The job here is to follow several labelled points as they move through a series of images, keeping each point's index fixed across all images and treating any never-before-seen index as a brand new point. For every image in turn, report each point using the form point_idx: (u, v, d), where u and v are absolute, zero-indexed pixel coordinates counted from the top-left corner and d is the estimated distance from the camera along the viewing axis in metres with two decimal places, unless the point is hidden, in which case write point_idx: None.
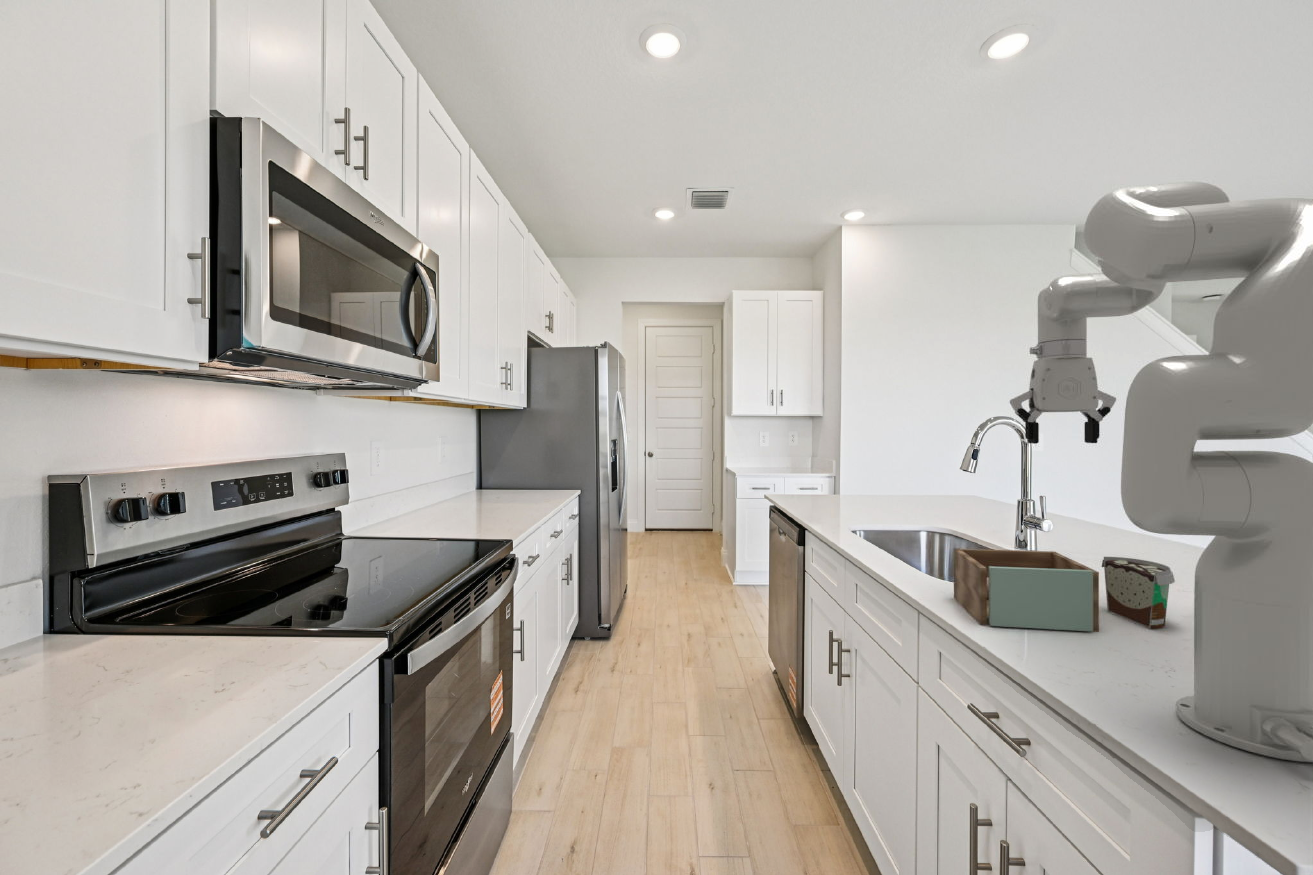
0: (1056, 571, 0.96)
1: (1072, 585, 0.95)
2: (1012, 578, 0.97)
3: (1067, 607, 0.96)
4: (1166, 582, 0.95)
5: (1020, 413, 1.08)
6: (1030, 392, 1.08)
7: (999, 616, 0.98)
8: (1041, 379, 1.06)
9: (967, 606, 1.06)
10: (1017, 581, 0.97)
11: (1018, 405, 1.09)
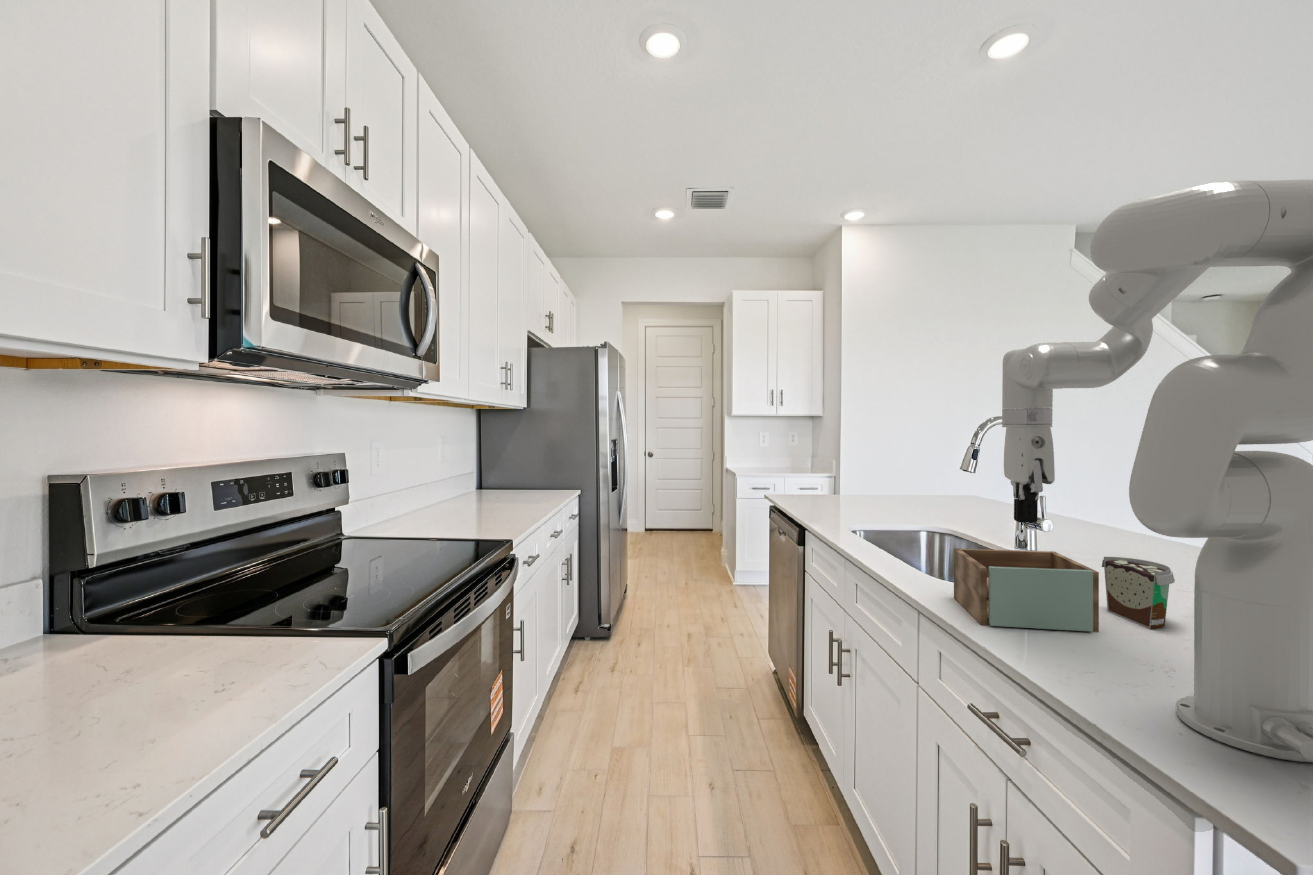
0: (1056, 571, 0.96)
1: (1072, 585, 0.95)
2: (1012, 578, 0.97)
3: (1067, 607, 0.96)
4: (1166, 582, 0.95)
5: (1038, 492, 0.99)
6: None
7: (999, 616, 0.98)
8: (1053, 449, 0.97)
9: (967, 606, 1.06)
10: (1017, 581, 0.97)
11: None
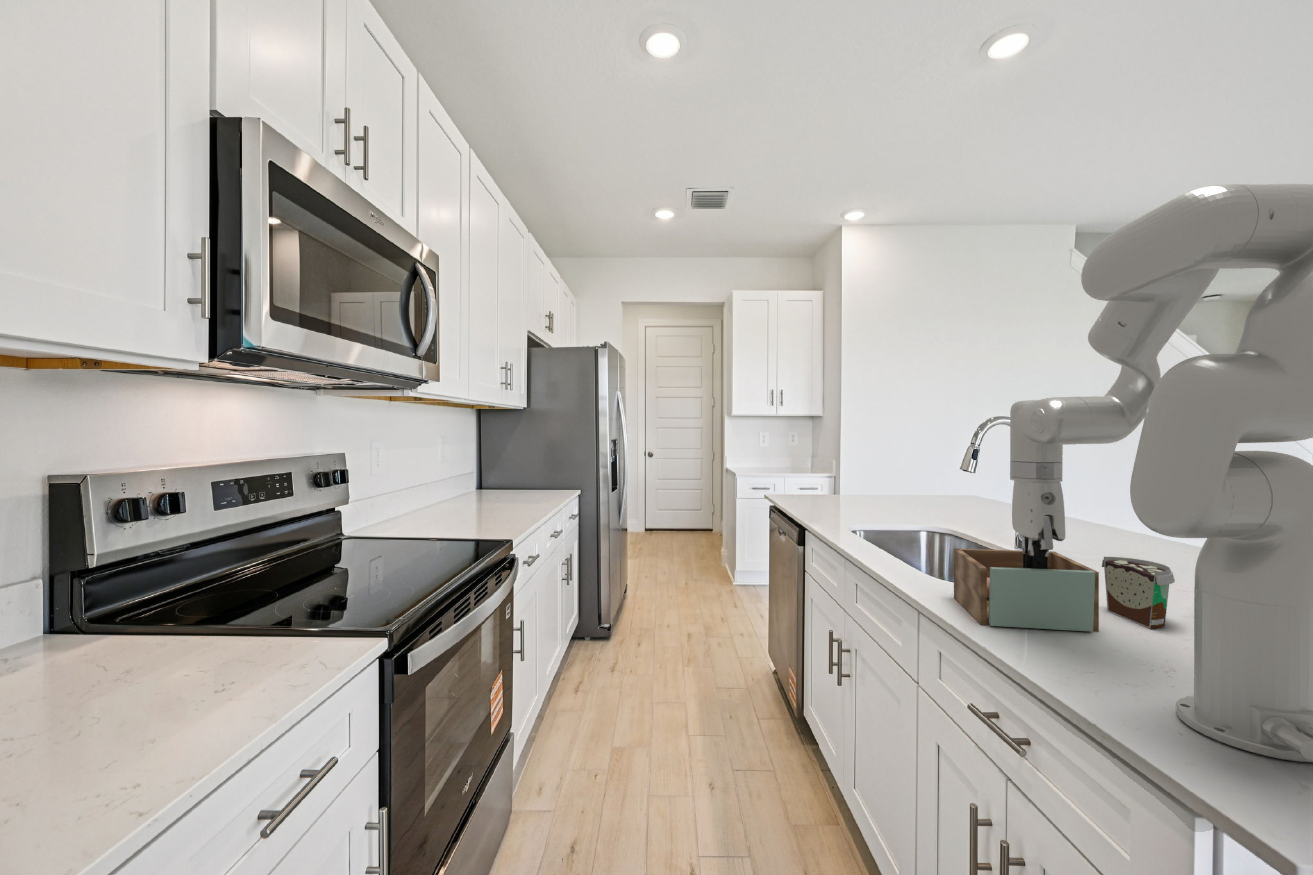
0: (1058, 572, 0.95)
1: (1073, 585, 0.95)
2: (1013, 579, 0.97)
3: (1068, 608, 0.95)
4: (1166, 582, 0.95)
5: None
6: None
7: (999, 616, 0.98)
8: (1063, 505, 0.93)
9: (967, 606, 1.06)
10: (1018, 582, 0.97)
11: None
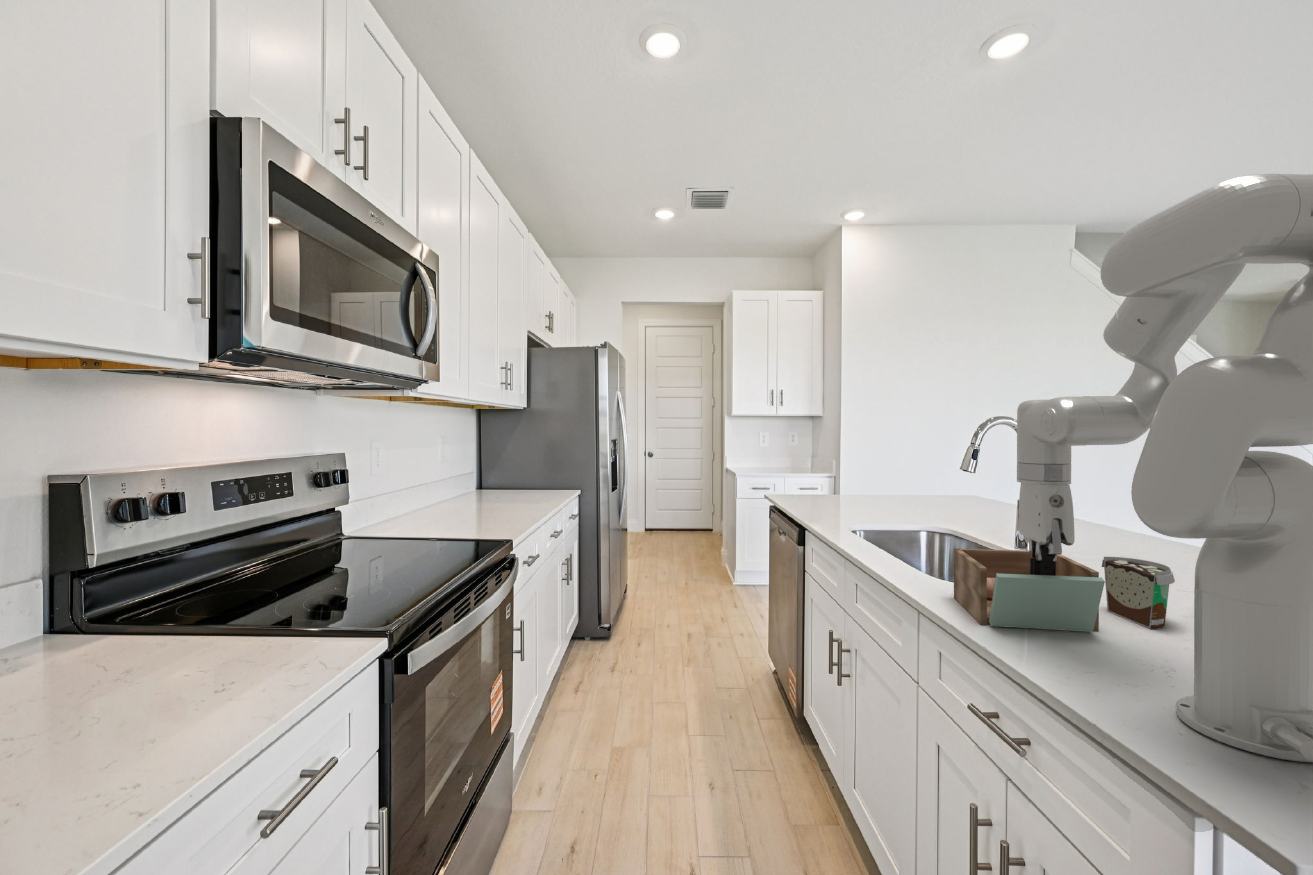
0: (1066, 580, 0.92)
1: (1080, 592, 0.93)
2: (1019, 586, 0.94)
3: (1071, 611, 0.94)
4: (1166, 582, 0.95)
5: None
6: None
7: (1000, 618, 0.97)
8: (1072, 508, 0.90)
9: (967, 606, 1.06)
10: (1024, 589, 0.94)
11: None
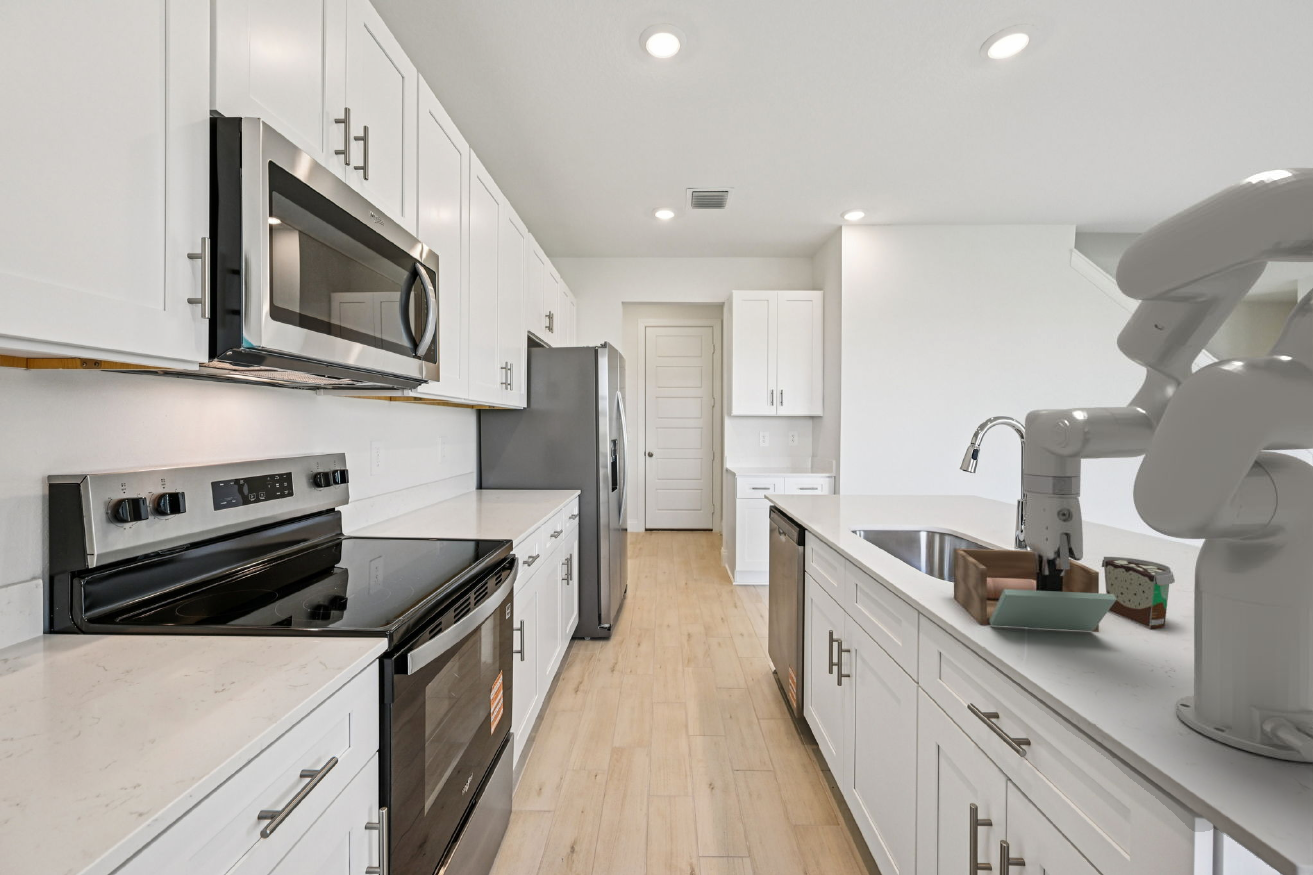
0: (1076, 598, 0.89)
1: (1088, 606, 0.90)
2: (1026, 601, 0.92)
3: (1075, 618, 0.93)
4: (1166, 582, 0.95)
5: None
6: None
7: (1001, 621, 0.97)
8: (1081, 523, 0.88)
9: (967, 606, 1.06)
10: (1030, 603, 0.92)
11: None
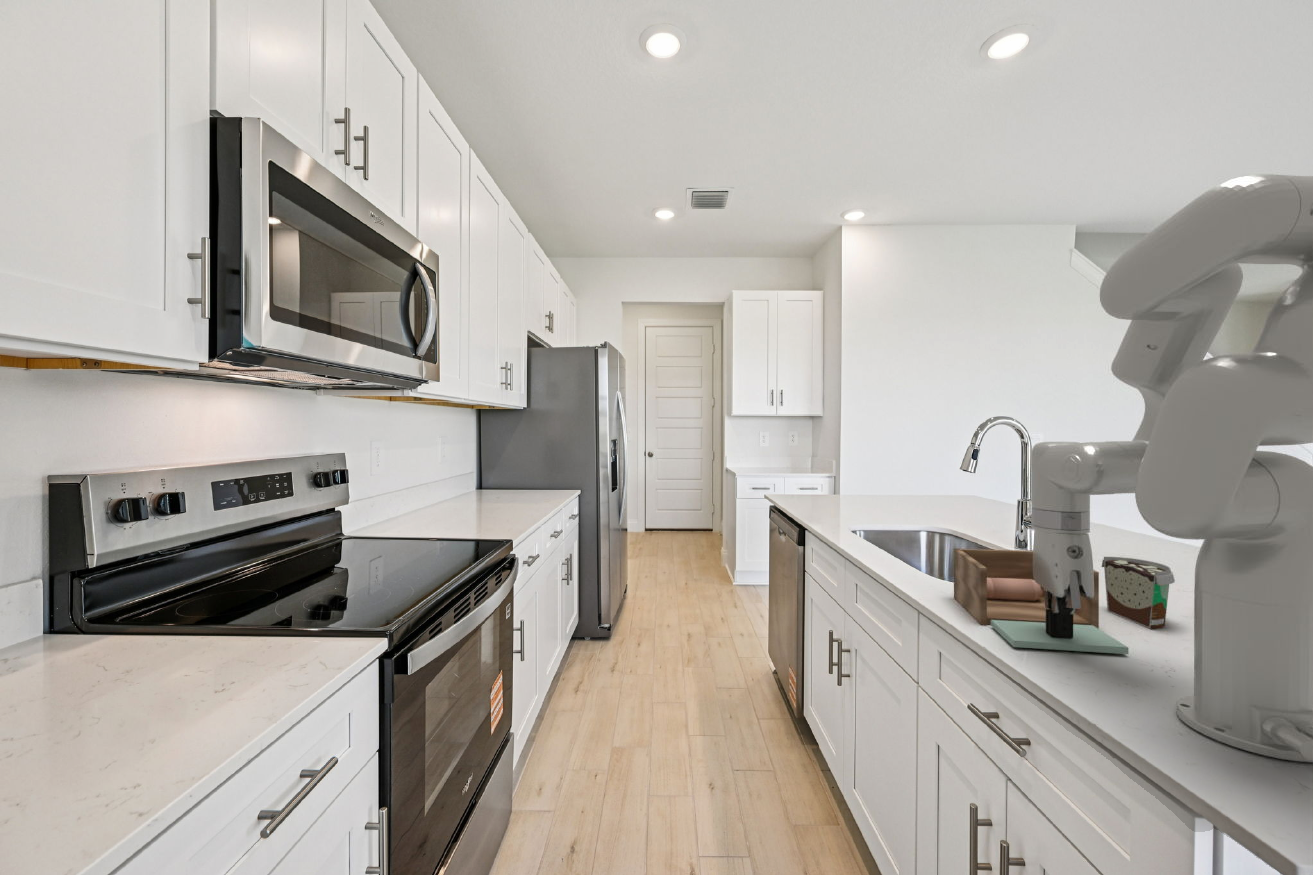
0: (1086, 651, 0.86)
1: None
2: None
3: None
4: (1166, 582, 0.95)
5: None
6: None
7: None
8: (1092, 560, 0.85)
9: (967, 606, 1.06)
10: None
11: None
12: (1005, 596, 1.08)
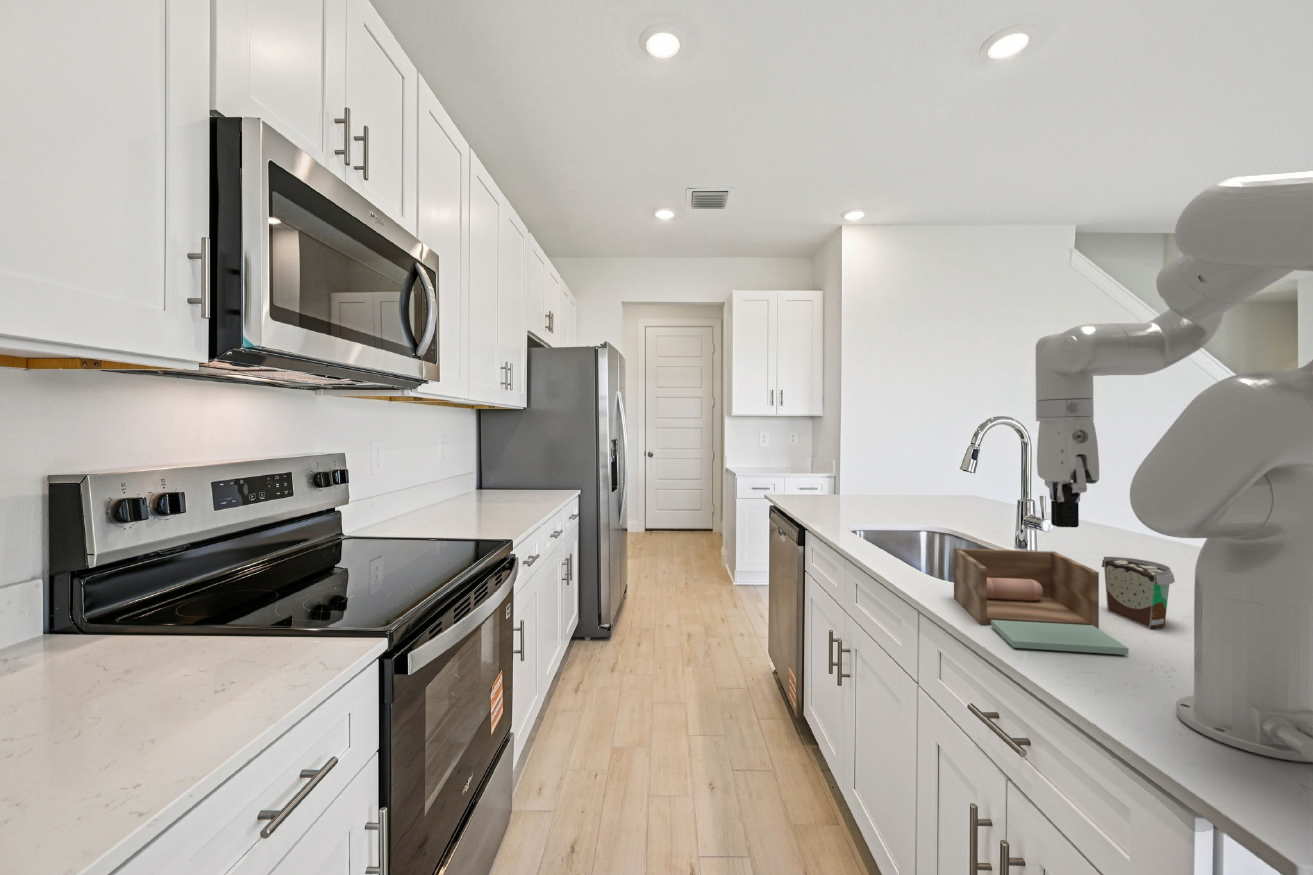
0: (1086, 651, 0.86)
1: None
2: None
3: None
4: (1166, 582, 0.95)
5: (1079, 492, 0.88)
6: None
7: None
8: None
9: (967, 606, 1.06)
10: None
11: None
12: (1005, 596, 1.08)
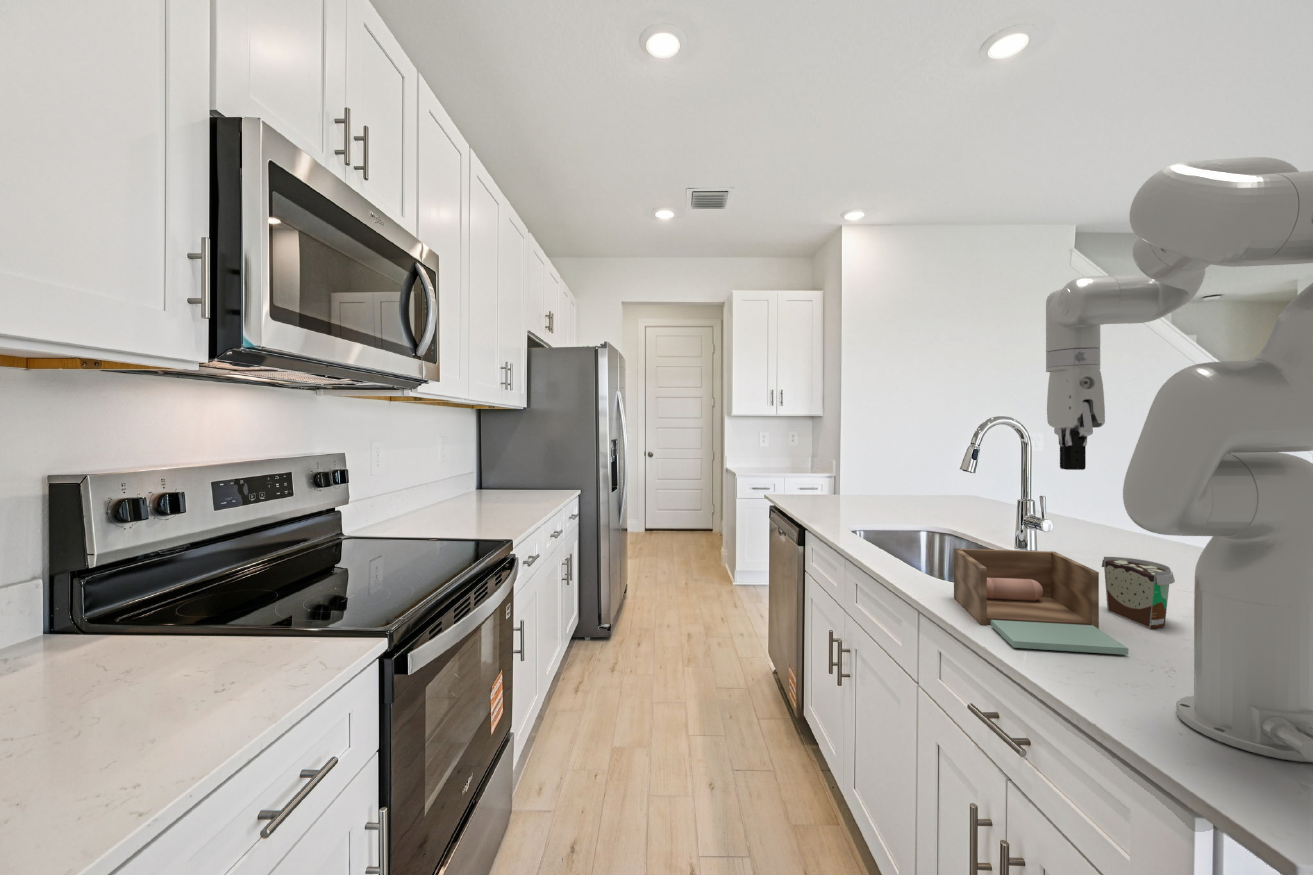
0: (1086, 651, 0.86)
1: None
2: None
3: None
4: (1166, 582, 0.95)
5: (1086, 436, 0.95)
6: None
7: None
8: (1102, 390, 0.93)
9: (967, 606, 1.06)
10: None
11: None
12: (1005, 596, 1.08)
